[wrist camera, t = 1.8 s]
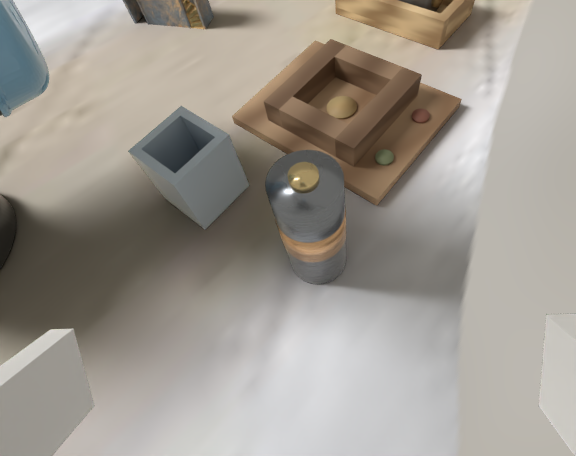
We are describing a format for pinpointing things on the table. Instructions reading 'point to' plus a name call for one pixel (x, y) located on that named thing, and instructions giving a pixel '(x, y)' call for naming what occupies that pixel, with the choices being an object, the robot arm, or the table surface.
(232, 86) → the table surface
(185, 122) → the cup
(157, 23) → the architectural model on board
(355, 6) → the trough
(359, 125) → the cradle
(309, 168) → the cell
